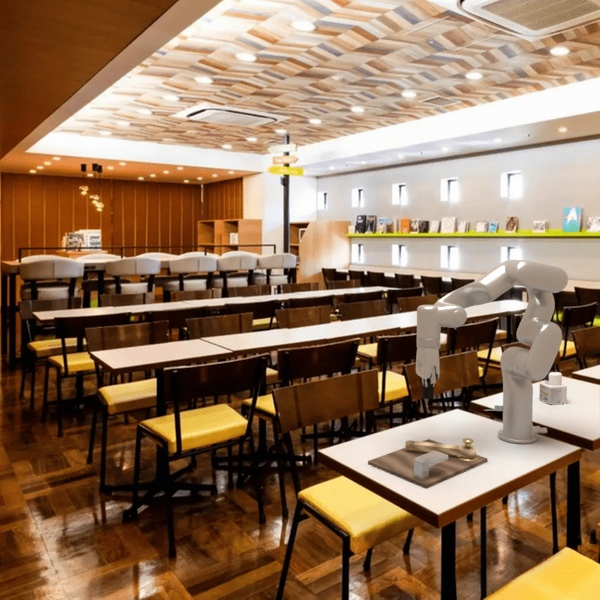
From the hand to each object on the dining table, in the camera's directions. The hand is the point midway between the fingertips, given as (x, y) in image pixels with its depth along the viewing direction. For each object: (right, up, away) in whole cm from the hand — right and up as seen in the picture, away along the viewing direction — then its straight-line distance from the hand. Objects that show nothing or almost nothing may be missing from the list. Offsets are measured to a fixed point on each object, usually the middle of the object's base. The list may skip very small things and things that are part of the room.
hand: (428, 398), depth 182 cm
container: (+64, -11, +50) cm, 82 cm away
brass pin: (+10, -18, -9) cm, 23 cm away
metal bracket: (+40, -13, +36) cm, 55 cm away
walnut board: (-2, -18, -10) cm, 21 cm away
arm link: (+2, -16, -6) cm, 17 cm away
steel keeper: (-4, -19, -20) cm, 28 cm away
